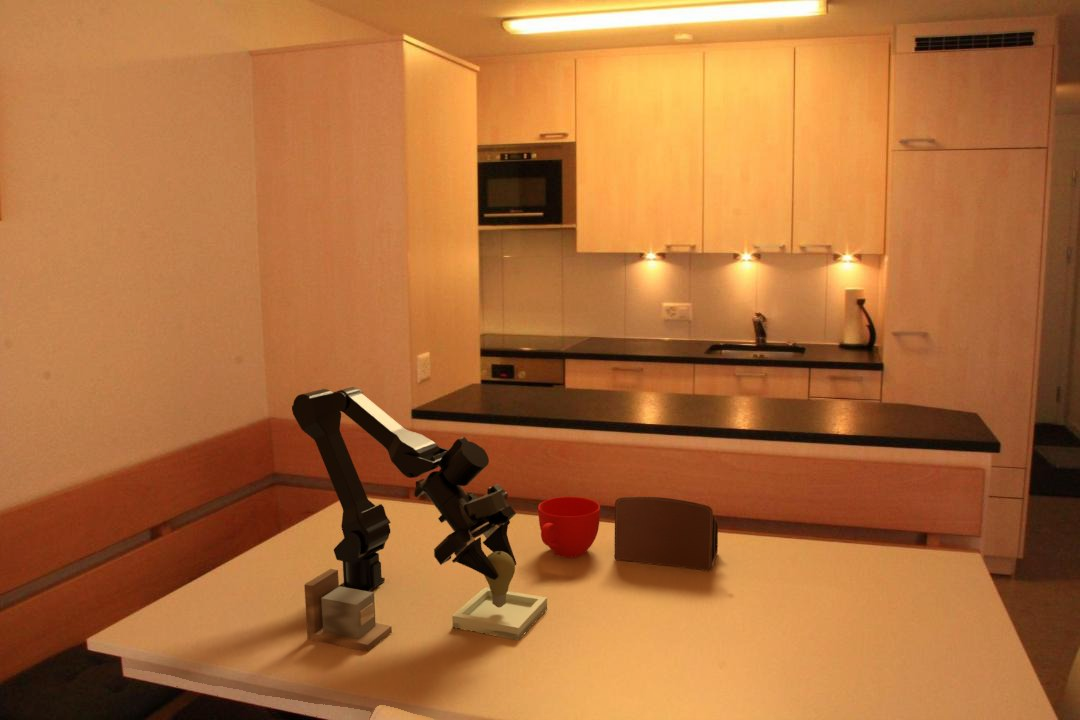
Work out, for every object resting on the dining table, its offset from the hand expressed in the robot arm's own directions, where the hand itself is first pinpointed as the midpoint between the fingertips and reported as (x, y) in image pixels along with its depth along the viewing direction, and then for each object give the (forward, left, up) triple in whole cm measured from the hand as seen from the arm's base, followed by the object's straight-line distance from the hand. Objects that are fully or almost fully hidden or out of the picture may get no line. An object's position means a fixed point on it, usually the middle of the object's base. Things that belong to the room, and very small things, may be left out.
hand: (505, 572), depth 145 cm
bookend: (-22, -15, -9) cm, 28 cm away
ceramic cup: (-1, +31, -9) cm, 32 cm away
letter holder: (+19, +38, -9) cm, 43 cm away
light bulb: (-1, 0, -7) cm, 7 cm away
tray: (-1, 0, -9) cm, 9 cm away
